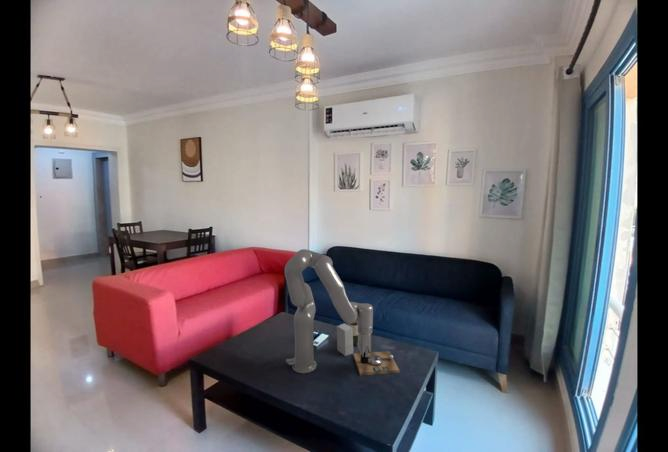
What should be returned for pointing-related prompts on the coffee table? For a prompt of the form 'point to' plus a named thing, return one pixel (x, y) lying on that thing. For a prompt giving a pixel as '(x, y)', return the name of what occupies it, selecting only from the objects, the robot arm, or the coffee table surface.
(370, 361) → the cam capstan
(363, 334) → the robot arm
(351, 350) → the skincare box
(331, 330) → the coffee table surface
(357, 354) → the stand
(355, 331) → the character mug
